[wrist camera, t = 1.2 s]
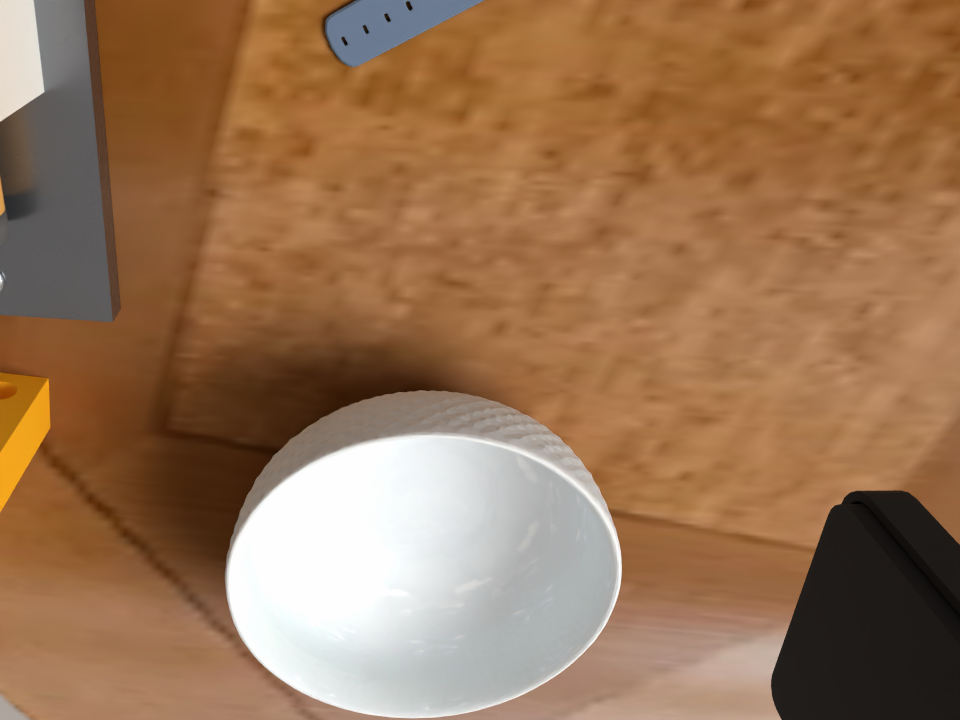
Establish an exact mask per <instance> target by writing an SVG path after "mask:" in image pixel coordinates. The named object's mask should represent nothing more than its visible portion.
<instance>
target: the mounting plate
mask: <svg viewBox="0 0 960 720" xmlns="http://www.w3.org/2000/svg"><path fill="white" fill-rule="evenodd" d="M34 8H35V16H36V25H37V33H38V42H39V50H40V59H41V67H42V76H43V84H44V93H42V94H41V95H39V96H38V97H36V98H35V99H33V100H32V101H30V102H29V103H27V104H26V105H24V106H23V107H21V108H20V109H18V110H17V111H15V112H14V113H12V114H11V115H9V116H8V117H6V118H5V119H3V120H2V121H1V122H0V179H1V185H2V192H3V199H4V205H5V207H6V212H7V219H8V226H9V232H10V237H9V239H8V240H7V241H6V242H5V243H4V244H2V245H0V315H13V316H28V317H44V318H59V319H74V320H90V321H105V322H113V321H114V319H115V317H116V316H117V314H118V312H119V311H120V309H121V308H120V296H119V284H118V273H117V261H116V249H115V237H114V225H113V214H112V202H111V190H110V178H109V167H108V155H107V143H106V131H105V119H104V108H103V96H102V84H101V72H100V61H99V49H98V37H97V25H96V13H95V2H94V0H34Z"/></svg>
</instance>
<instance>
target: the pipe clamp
mask: <svg viewBox="0 0 960 720" xmlns="http://www.w3.org/2000/svg"><path fill="white" fill-rule="evenodd" d="M49 429H50V406H49V380H48V378H42V377H34V376H25V375H17V374H8V373H0V512H1V510H2V508H3V507H4V505H5V503H6V502H7V500H8V498H9V496H10V495H11V493H12V491H13V490H14V488H15V486H16V485H17V483H18V481H19V480H20V478H21V476H22V474H23V473H24V471H25V469H26V468H27V466H28V464H29V463H30V461H31V459H32V457H33V456H34V454H35V452H36V451H37V449H38V447H39V446H40V444H41V442H42V440H43V439H44V437H45V435H46V434H47V432H48V430H49Z"/></svg>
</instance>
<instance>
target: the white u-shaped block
mask: <svg viewBox="0 0 960 720" xmlns="http://www.w3.org/2000/svg"><path fill="white" fill-rule="evenodd" d="M42 93H44V84H43V76H42V67H41V59H40V50H39V42H38V33H37V25H36V16H35V8H34V0H0V122H1V121H2V120H3V119H5V118H6V117H8V116H9V115H11V114H12V113H14V112H15V111H17V110H18V109H20V108H21V107H23V106H24V105H26V104H27V103H29V102H30V101H32V100H33V99H35V98H36V97H38V96H39V95H41V94H42Z"/></svg>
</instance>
